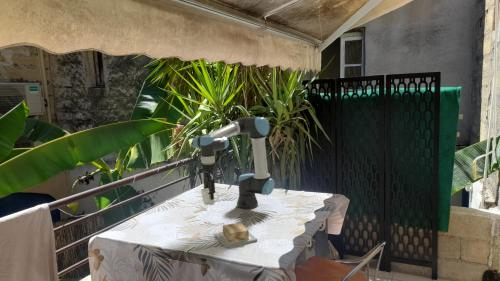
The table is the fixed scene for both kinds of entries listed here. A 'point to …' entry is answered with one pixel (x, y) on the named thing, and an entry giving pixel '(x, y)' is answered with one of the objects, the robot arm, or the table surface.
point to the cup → (206, 196)
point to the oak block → (235, 232)
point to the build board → (231, 244)
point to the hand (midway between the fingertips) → (210, 203)
